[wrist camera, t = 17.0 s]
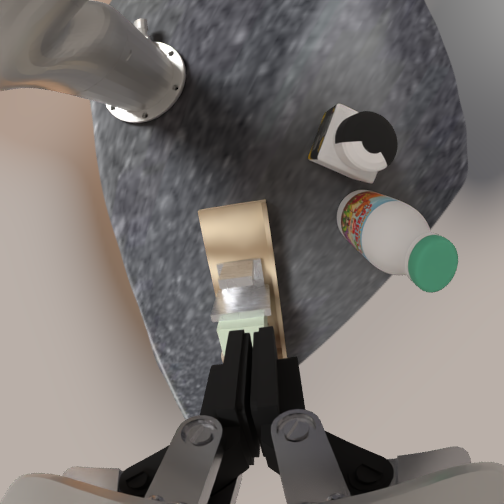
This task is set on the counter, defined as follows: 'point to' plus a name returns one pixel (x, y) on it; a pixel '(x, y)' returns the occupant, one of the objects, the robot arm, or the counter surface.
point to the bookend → (241, 291)
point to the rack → (244, 250)
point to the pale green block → (239, 328)
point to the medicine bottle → (354, 143)
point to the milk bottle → (397, 239)
